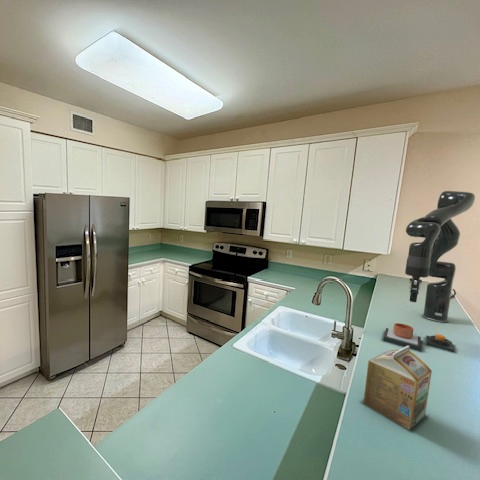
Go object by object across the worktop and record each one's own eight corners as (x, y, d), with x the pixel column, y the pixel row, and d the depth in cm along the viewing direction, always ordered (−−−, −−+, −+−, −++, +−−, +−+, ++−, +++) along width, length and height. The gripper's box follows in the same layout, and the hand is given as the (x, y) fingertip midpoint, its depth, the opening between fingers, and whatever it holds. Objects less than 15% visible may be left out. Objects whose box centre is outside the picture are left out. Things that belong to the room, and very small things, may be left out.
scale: (385, 331, 125) (386, 326, 125) (420, 340, 116) (420, 335, 116) (383, 341, 115) (383, 335, 115) (420, 351, 107) (421, 346, 106)
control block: (426, 338, 119) (426, 332, 119) (451, 344, 113) (452, 338, 113) (426, 345, 112) (427, 339, 112) (453, 352, 106) (454, 346, 106)
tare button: (434, 337, 115) (435, 333, 114) (444, 339, 112) (445, 335, 112) (435, 339, 113) (435, 335, 112) (445, 341, 110) (445, 338, 110)
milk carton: (409, 430, 67) (419, 364, 65) (363, 403, 76) (370, 344, 74) (424, 416, 72) (434, 354, 70) (379, 392, 81) (386, 337, 79)
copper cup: (393, 331, 120) (394, 321, 120) (412, 335, 115) (413, 326, 115) (392, 335, 116) (393, 325, 115) (412, 340, 111) (413, 330, 111)
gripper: (430, 269, 106) (424, 305, 108) (429, 264, 116) (424, 298, 118) (405, 266, 112) (401, 301, 114) (406, 262, 121) (402, 294, 123)
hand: (413, 299), depth 116 cm, fingers open, 8 cm apart
